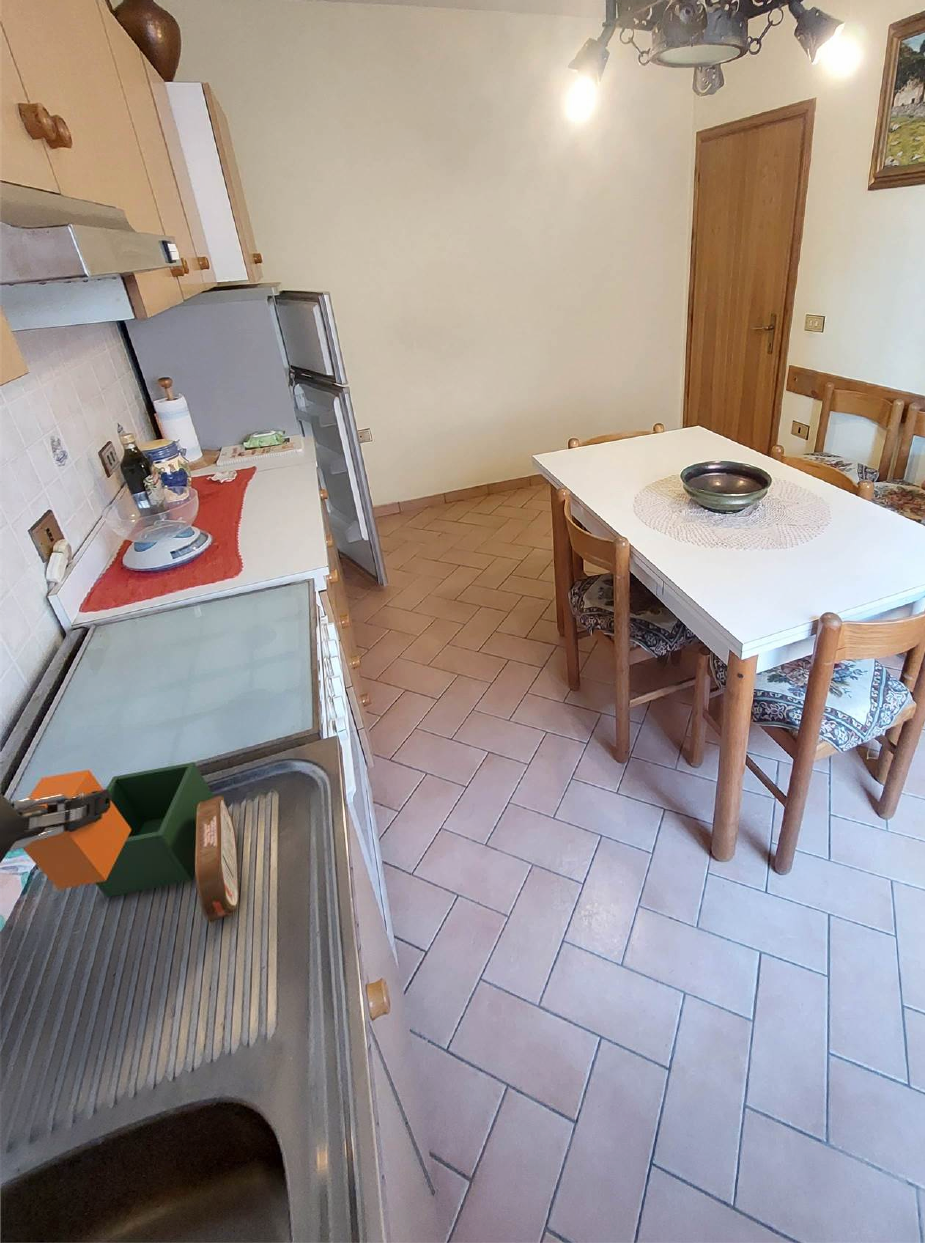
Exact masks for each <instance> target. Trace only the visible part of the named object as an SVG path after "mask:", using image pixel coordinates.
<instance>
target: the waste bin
mask: <svg viewBox="0 0 925 1243" xmlns="http://www.w3.org/2000/svg"><path fill="white" fill-rule="evenodd" d="M106 789H108V790H109V792H110V793H111V801H112V803H113V804H114V806H115V807H116V808H117V810H118V811H119V813H120V814H121V816H122V817H123V818H124V820H125V821H126V823H127V824H128V825H129V827H130V828H131V831H130V833H129V835H128V837H127V839H126V841H125V843H124V845H123V847H122V849H121V851H120V853H119V855H118V857H117V859H116V861H115V863H114V865H113V867H112V869H111V871H110V873H109V875H108V877H107V879H106V881H102V882H97V883H94V884H95V885H96V886H97V887H98V889H99V890H100V891H101V892H102V893H103V895H104V896H105V897H106V898H112V897H115V896H116V897H117V896H121V895H125V894H131V893H137V892H140V891H147V890H150V889H156V888H160V887H166V886H170V885H176V884H180V883H181V884H182V883H185V882H191V881H193V879H194V877H195V875H196V874H195V850H196V814H197V806H198V804H199V803H200V802H205V801H207V800H210V799H212V798H215V796H214V794H213V792H212V791H211V789H210V787H209V786H208V784H207V781H206V780H205V779H204V777H203V775H202V774H201V772H200V770H199V768H198V766H197V765H196V763H195V762H194V761H192V762H187V763H186V762H185V763H181V764H176V765H169V766H165V767H158V768H154V769H153V768H152V769H148V770H141V771H136V772H131V773H127V774H126V773H125V774H121V775H116V776H113V777H112V778H111V780H110V782H109V784H108V785H107V787H106Z"/></svg>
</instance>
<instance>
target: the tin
mask: <svg viewBox="0 0 925 1243" xmlns="http://www.w3.org/2000/svg"><path fill="white" fill-rule="evenodd" d="M237 846H238V845H237V837H236V829H235V825H234V820H233V817H232V815H231V813H230V811H229V809H228V806H227V804H226V802H225V797H224V796H222V795H219V796H214V798H212V799H210V800H207V801H205V802H200V803H199V804H198V806H197V814H196V850H195V874H194V875H195V882H196V888H197V894H198V899H199V902H200V906H201V909H202V912H203V915H204V917H205V919H206V920H207V921H208V922H209V924H215V922H216V921H218V920H220V919H222V918H225V917H227V916H229V915H231V914H232V913H234V912H235V911H236V910H237V908H238V906H239V866H238V847H237Z"/></svg>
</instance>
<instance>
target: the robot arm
mask: <svg viewBox="0 0 925 1243" xmlns="http://www.w3.org/2000/svg"><path fill="white" fill-rule="evenodd" d="M41 804H46V805H47V808H46V807H45V806H37V805H41ZM110 804H111V793H110V792H109V790H108V789H107V788H105V789H103V790H100V791H93V792H92V793H88V794H84V793H80V794H77V796H73V797H68V798H67V797H66V795H64V794H59V795H53V796H48V797H43V798H39V799H32V798H28V797H27V798H24V799H23V798H22V799H16V800H12V801H9V800H8V799H7V798H6V797H5V795H3V794H1V793H0V864H1V863H2V862H3V860H4V859H5V858H6V856H7V855H8V853H9V852H13V851H17V850H19V849H23V848H24V847H27V846H28V845H29V844H30V843H31V842H34V841H37V840H41V839H44V838H48V837H51V836H55V835H58V834H61V833H62V832H63V831H69V832H73V831H76V830H77V829H79V828H82V827H84V826H86V825H88V824H91V823H93V822H97V821H98V820H100V819H102V814H103V813H106V812H107V811H108V809H109V808H110ZM33 806H34V807H33Z"/></svg>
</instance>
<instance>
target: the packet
mask: <svg viewBox="0 0 925 1243" xmlns="http://www.w3.org/2000/svg"><path fill="white" fill-rule="evenodd" d="M100 790H104V788H103V787H102V786H101V784H100V783H99V782H98V780H97V779H96V777H95V776H94V774H93V772H92V771H91V770H90V769H86V770H79V771H74V772H68V773H62V774H56V775H51V776H44V777H41V778H40V780H39V782H38V783H37V784H36V785H35V787H34V789H33V790H32V791H31V793H30V794H29V795H28V797H27V799H28V798H32V799H39V798H43V797H48V796H53V795H59V794H64V795H66V797H67V798H68V797H73V796H77V794H80V793H84V794H88V793H92V792H93V791H100ZM37 806H45V807H46V808H47V805H46V804H41V805H37ZM33 807H34V806H33ZM130 831H131V828H130V827H129V825H128V824H127V823H126V821H125V820H124V818H123V817H122V816H121V814H120V813H119V811H118V810H117V808H116V807H115V806H114V804H113V803H112V801H111V804H110V808H109V809H108V811H107V812H106V813H103V814H102V819H100V820H98V821H97V822H93V823H91V824H88V825H86V826H84V827H82V828H79V829H77V830H76V831H73V832H69V831H63V832H62V833H61V834H58V835H55V836H51V837H48V838H44V839H41V840H37V841H34V842H31V843H30V844H29V845H28V846H27V847H24V848H22V850H23V851H24V852H25V853H26V854H27V855H28V857H29V858H30V859H31V860H32V861H33V862H34V863H35V864H36V866H37V867H38V868H39V869H40V871H42V873H43V874H44V875H45V876H46V877H47V878H48V879H49V880H50V881H51V883H52V884H53V885H54V886H55V887H56V888H57V890H58V891H59V890H64V889H70V888H74V887H81V886H86V885H91V884H95V883H97V882H102V881H106V879H107V877H108V875H109V873H110V871H111V869H112V867H113V865H114V863H115V861H116V859H117V857H118V855H119V853H120V851H121V849H122V847H123V845H124V843H125V841H126V839H127V837H128V835H129V833H130Z"/></svg>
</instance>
